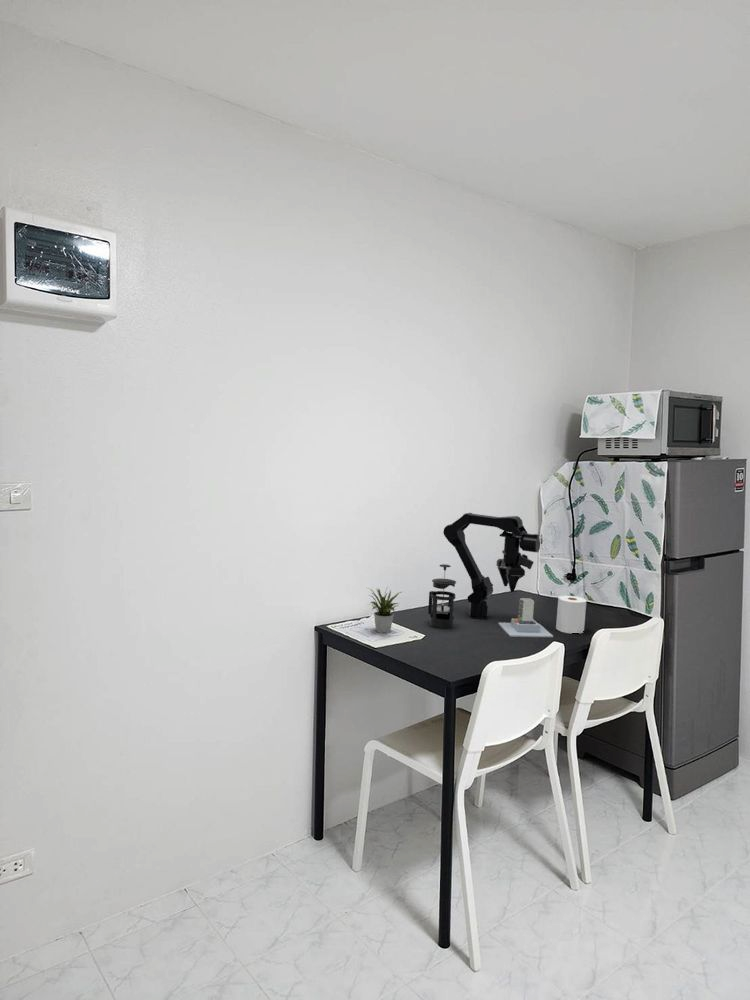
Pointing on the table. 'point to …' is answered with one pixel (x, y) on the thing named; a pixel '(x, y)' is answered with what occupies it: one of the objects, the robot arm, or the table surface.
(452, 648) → the table surface
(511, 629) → the stand base
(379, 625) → the house plant
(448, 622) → the french press
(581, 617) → the toilet paper
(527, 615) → the column
